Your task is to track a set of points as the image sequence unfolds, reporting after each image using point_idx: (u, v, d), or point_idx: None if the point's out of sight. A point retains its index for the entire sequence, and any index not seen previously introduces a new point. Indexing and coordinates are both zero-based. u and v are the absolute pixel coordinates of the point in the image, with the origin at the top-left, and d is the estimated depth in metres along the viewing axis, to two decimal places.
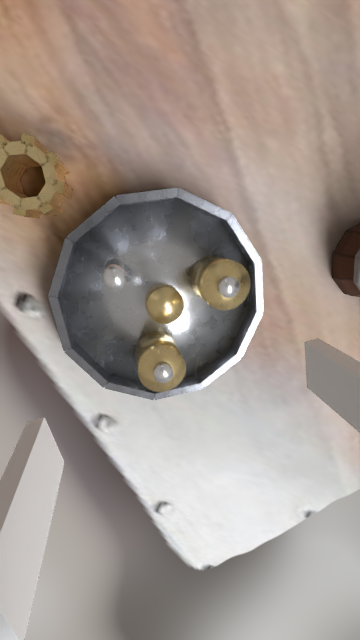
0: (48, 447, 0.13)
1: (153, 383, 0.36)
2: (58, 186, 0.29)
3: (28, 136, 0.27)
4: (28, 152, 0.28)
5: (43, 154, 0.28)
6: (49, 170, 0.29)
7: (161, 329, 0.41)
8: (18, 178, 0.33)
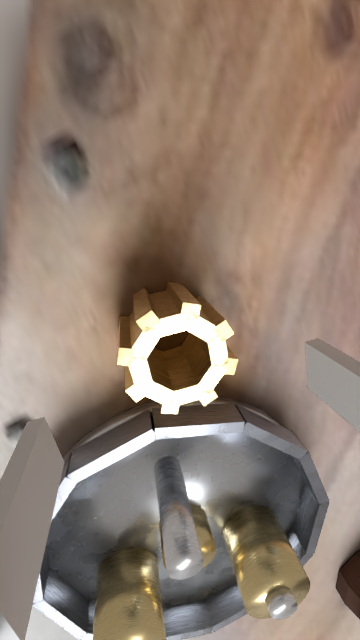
0: (48, 447, 0.13)
1: None
2: (207, 396, 0.19)
3: (229, 328, 0.17)
4: (212, 343, 0.18)
5: (225, 356, 0.18)
6: (215, 375, 0.18)
7: (154, 550, 0.29)
8: None
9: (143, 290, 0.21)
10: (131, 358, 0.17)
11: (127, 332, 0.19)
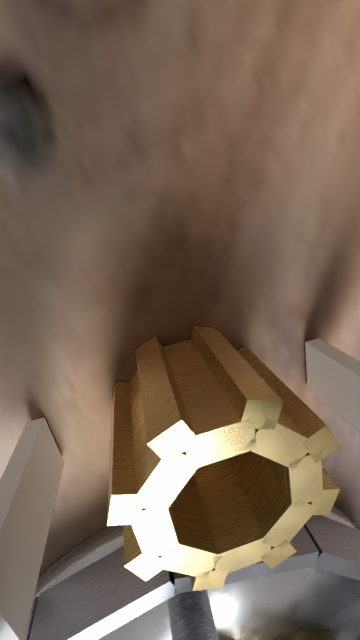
0: (48, 447, 0.13)
1: None
2: (278, 554, 0.10)
3: (331, 440, 0.09)
4: (297, 467, 0.09)
5: (318, 487, 0.09)
6: (295, 520, 0.10)
7: None
8: None
9: (154, 343, 0.12)
10: (137, 511, 0.08)
11: (127, 431, 0.10)
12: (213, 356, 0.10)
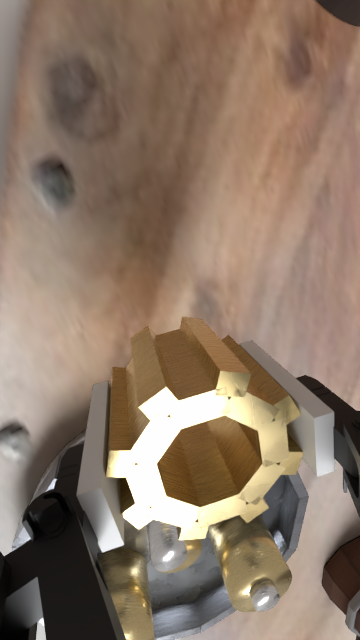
0: None
1: None
2: (253, 509, 0.12)
3: (293, 407, 0.10)
4: (265, 431, 0.11)
5: (285, 449, 0.11)
6: (266, 478, 0.11)
7: (142, 551, 0.30)
8: None
9: (147, 332, 0.14)
10: (130, 465, 0.10)
11: (123, 405, 0.12)
12: (197, 340, 0.12)
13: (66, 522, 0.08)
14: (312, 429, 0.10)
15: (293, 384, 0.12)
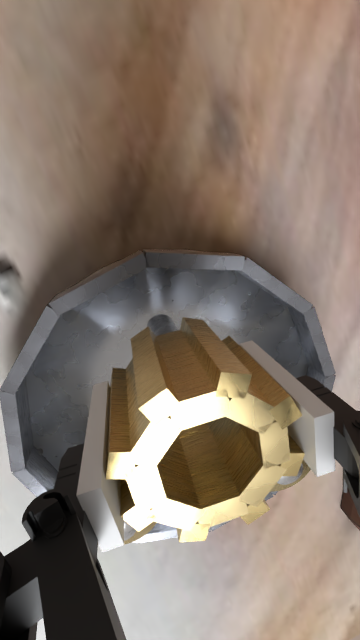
0: None
1: None
2: (253, 511, 0.12)
3: (294, 408, 0.10)
4: (266, 432, 0.10)
5: (286, 450, 0.11)
6: (267, 480, 0.11)
7: None
8: None
9: (147, 332, 0.14)
10: (130, 467, 0.10)
11: (123, 406, 0.12)
12: (197, 341, 0.12)
13: (66, 522, 0.08)
14: (312, 429, 0.10)
15: (293, 384, 0.12)
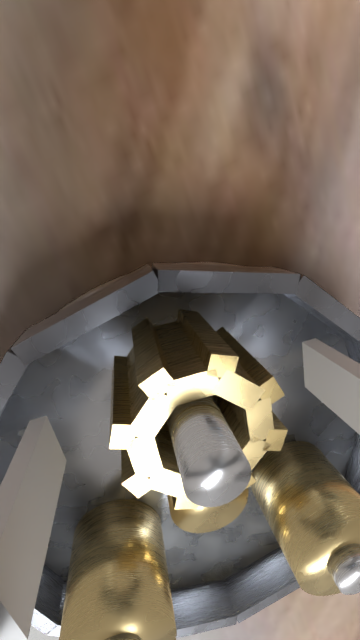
0: (50, 445, 0.13)
1: None
2: None
3: (277, 388, 0.12)
4: (252, 410, 0.12)
5: (270, 427, 0.12)
6: (253, 453, 0.13)
7: (155, 505, 0.20)
8: None
9: (146, 322, 0.15)
10: (131, 438, 0.11)
11: (124, 388, 0.13)
12: (192, 329, 0.13)
13: None
14: None
15: None
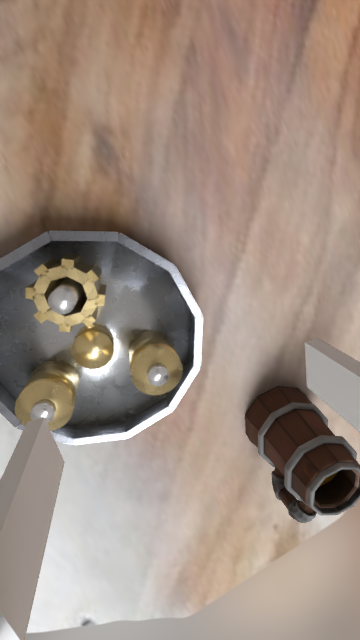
0: (48, 447, 0.13)
1: (26, 415, 0.32)
2: (88, 320, 0.30)
3: (94, 275, 0.29)
4: (85, 284, 0.29)
5: (95, 293, 0.29)
6: (91, 306, 0.30)
7: (74, 366, 0.38)
8: None
9: None
10: (34, 294, 0.28)
11: None
12: (66, 256, 0.31)
13: None
14: None
15: None
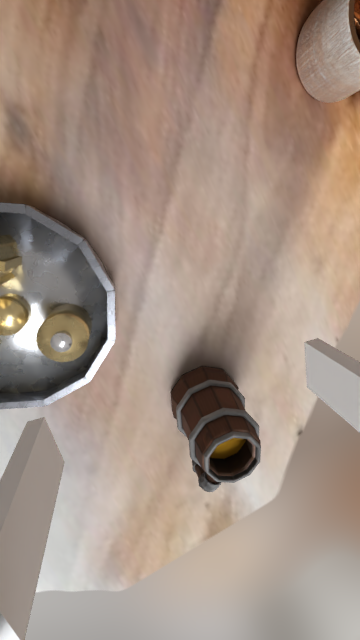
0: (48, 447, 0.13)
1: None
2: None
3: None
4: None
5: None
6: None
7: None
8: None
9: None
10: None
11: None
12: None
13: None
14: None
15: None
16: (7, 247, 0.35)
